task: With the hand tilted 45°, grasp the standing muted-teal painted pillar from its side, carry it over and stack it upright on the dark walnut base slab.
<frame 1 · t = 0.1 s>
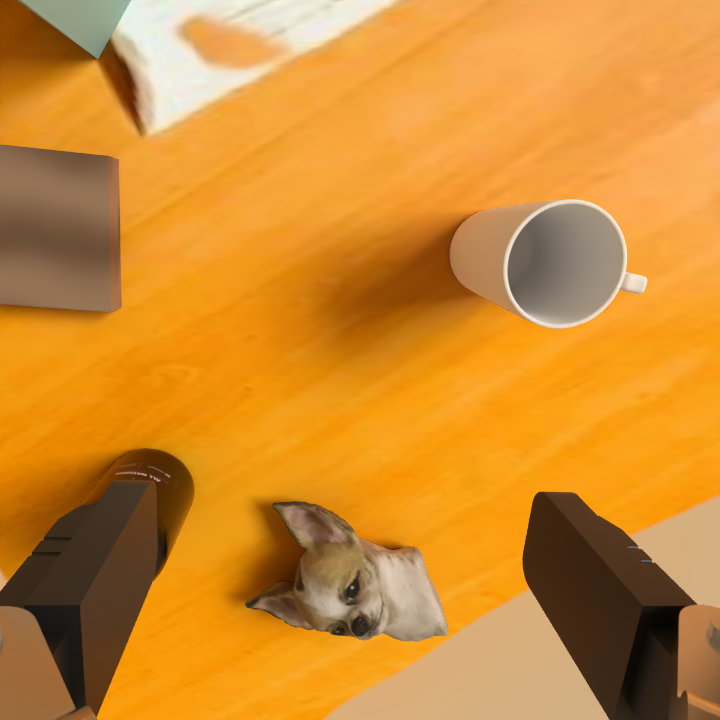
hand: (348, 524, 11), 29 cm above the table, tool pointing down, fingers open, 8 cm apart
mug: (508, 257, 40), on the table
pillar: (82, 2, 33), on the table
supplement bottle: (151, 484, 42), on the table
ceramic sculpture: (345, 554, 45), on the table
base: (43, 229, 36), on the table
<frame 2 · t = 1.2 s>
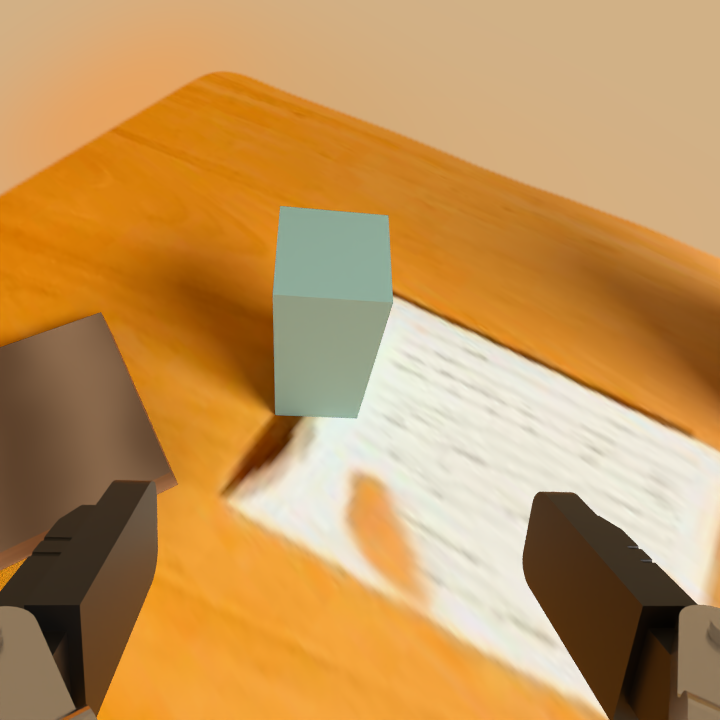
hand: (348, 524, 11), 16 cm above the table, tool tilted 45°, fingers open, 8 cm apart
pillar: (317, 380, 30), on the table
base: (42, 445, 26), on the table
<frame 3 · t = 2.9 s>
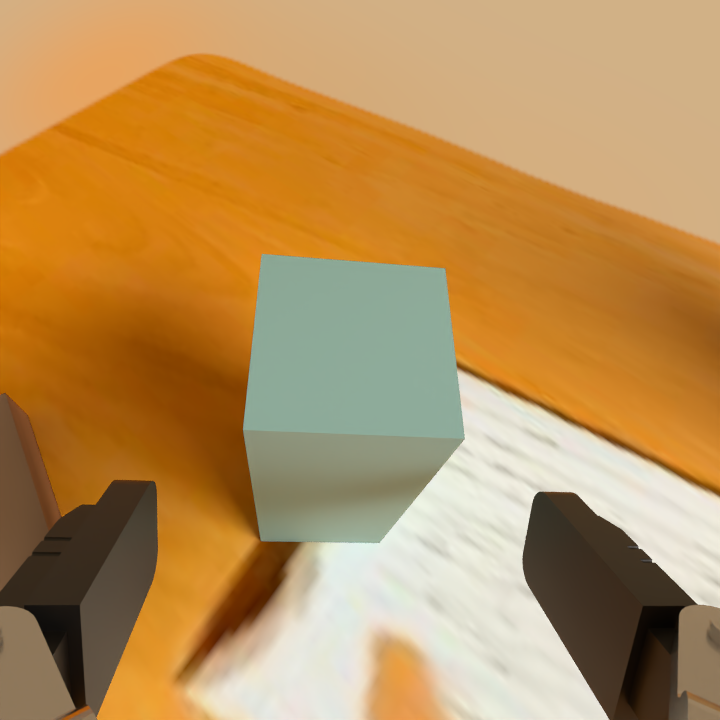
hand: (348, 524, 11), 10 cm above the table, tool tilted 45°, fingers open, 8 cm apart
pillar: (322, 483, 21), on the table
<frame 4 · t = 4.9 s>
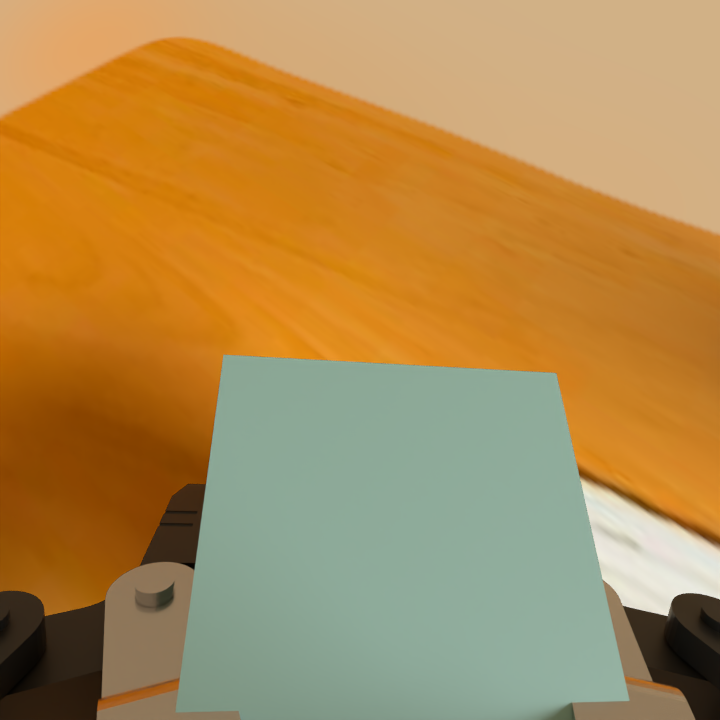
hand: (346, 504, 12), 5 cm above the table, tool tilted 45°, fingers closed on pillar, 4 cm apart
pillar: (327, 615, 15), on the table, touching gripper
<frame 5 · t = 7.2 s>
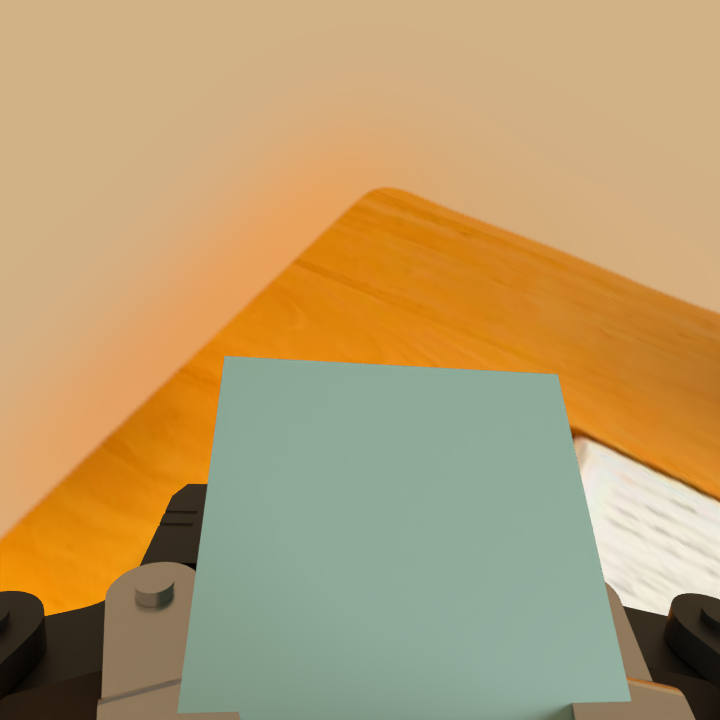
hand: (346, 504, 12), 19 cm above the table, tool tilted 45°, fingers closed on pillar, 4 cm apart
pillar: (328, 616, 15), point 13 cm above the table, touching gripper
when the fingers open (8 cm above the table, at t = 9.5 s): pillar drops 1 cm, resting on base.
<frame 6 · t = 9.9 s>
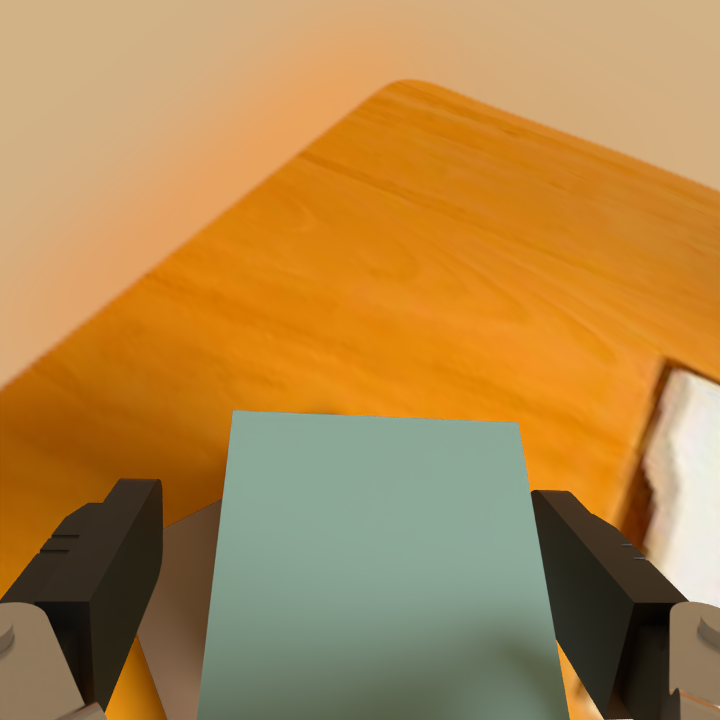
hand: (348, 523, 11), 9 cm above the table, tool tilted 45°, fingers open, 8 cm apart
pillar: (324, 623, 17), point 2 cm above the table, touching base
base: (319, 623, 18), on the table
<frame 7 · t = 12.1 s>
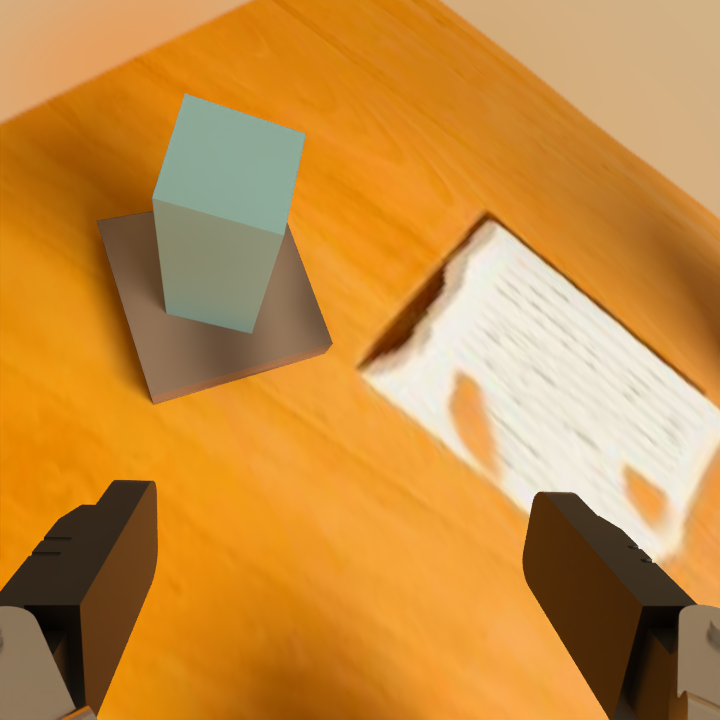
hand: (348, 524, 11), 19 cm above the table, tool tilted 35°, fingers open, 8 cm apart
pillar: (219, 286, 29), point 2 cm above the table, touching base
base: (217, 298, 31), on the table
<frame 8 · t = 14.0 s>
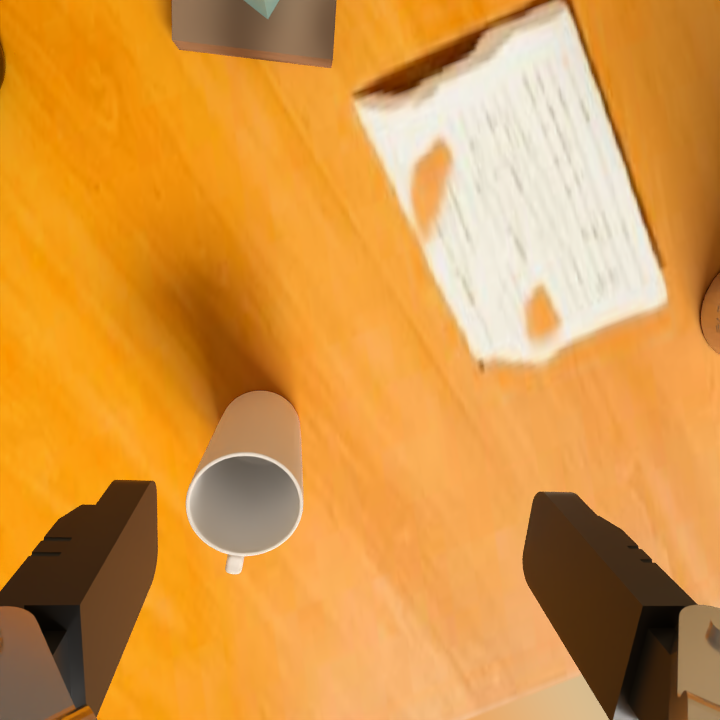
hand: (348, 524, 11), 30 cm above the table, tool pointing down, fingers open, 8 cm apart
mug: (257, 443, 43), on the table
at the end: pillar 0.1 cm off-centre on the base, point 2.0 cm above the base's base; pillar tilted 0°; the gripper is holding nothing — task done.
